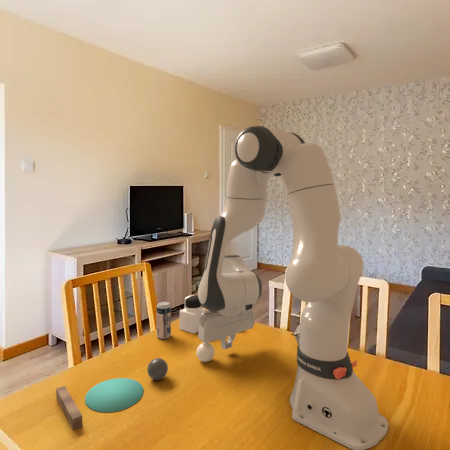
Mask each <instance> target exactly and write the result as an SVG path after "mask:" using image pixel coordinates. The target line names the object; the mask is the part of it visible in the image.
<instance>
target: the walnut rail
mask: <svg viewBox="0 0 450 450" xmlns="http://www.w3.org/2000/svg"><path fill="white" fill-rule="evenodd" d="M55 391H56V392H55V393H56V394H55V395H56V397H55V398H56V400H57V401H58V402H57V403H58V404H59V406H60V407H61V410H62V411H63V413H64V415H65V417H66V420H67V421H68V424H69V425H70V427H71V429H72V430H73V431H74V430H77V429H79V428H81V427H83V414H82V413H81V411H80V409H79V407H78V405H77V403H76V402H75V400H74V399H73V397H72V396H71V394H70V392H69V390H68V389H67V387H66V386H65V385H63V386H60V387H56V390H55Z"/></svg>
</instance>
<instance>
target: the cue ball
mask: <svg viewBox="0 0 450 450" xmlns="http://www.w3.org/2000/svg"><path fill="white" fill-rule="evenodd" d="M215 353H216V351H215V348H214V346H213V345H212V344H211V343H210V342H208V343H204V342H201V343H200V344H199V345H198V346H197V348H196V353H195V354H196V357H197V358H198V360H199V361H201V362H203V363H207V362H210V361H211V360H213V358H214V357H215Z"/></svg>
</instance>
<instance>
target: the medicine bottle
mask: <svg viewBox="0 0 450 450" xmlns="http://www.w3.org/2000/svg"><path fill="white" fill-rule="evenodd" d="M205 311H207V309H206V308H204V307H202V305H201V304H200V302H199V299H198V295H193V294H192V295H188V296H186V297H185V298H184V308H183V309H180V310H179V330H181V331H184V332H188V333H191V334H193V335H194V334H196V333H197V334H198V331H199V324H200V316H201V315H202V314H203V313H204V312H205Z"/></svg>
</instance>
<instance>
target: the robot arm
mask: <svg viewBox="0 0 450 450" xmlns="http://www.w3.org/2000/svg"><path fill="white" fill-rule="evenodd" d="M234 153H235V158H236V159H234V160H233V161H232V163H231V164H230V167H229V172H228V177H227V182H226V191H225V202H224V203H225V204H224V207H223V209H222V211H221V213H220V214H219V216H218V217H216V218H215V219H214V221H213V224H212V226H211V230H210V234H209V239H208V242H207V243H208V244H207V249H206V255H205V259H204V265H203V270H202V274H201V277H200V280H199V283H198V288H197V296H198V299H199V302H200V304H201V307H202V308H204V309H206V311H205V312H204V313H203V314H202V315H201V316H200V324H199V331H198V332H197V337H198V339H199V340H200V341H201V342H202V343H210V342H211V343H212V342H214V341H218V340H220V343H221V348H222V350H227V349H231V348H233V342H234V341H235V338H236V334H239V333H241V332H245V331H248V330H251V329H253V328H254V326H255V323H256V322H255V321H256V320H255V319H256V315H255V314H256V312H255V309H254V308H255V306H256V305H255V304H257V302H259V300H260V299H261V296H262V293H263V284H262V279H261V277H259V276H258V275H257V274H256V273H255V272H254V271H251V270H250V269H248V267H247V266H246V265H245V264H244V261H243V258H242V256H240V255H237V254H228V255H226V251H227V248H228V246H229V244H230V243H231V242H232V241H233V240H234V239H235V238H237V237H239V236H240V235H242V234H245V233H247V232H249V231H251V230H253V229H254V228H255V227H257V226H258V225H259V224H260V223H261V222H262V221H263V219H264V216H265V213H266V208H267V207H266V205H267V203H266V202H267V186H268V185H267V184H268V181H269V179H270V178H271V177H272V176H275V177H280V176H282V178H283V179H284V185H285V188H286V189H285V190H286V194H287V199H288V204H289V210H290V211H289V212H290V215H291V221H292V233H293V234H292V236H293V237H292V251H291V259H290V261H289V263H288V266H287V268H286V271H285V276H284V278H285V283H286V286H287V289H288V291H289V293H290V294H291V295H293V297H295V298H296V299H297V300H299V301H301V302H305V303H306V305H305V307H304V308H303V310H302V312H301V316H300V319H299V320H300V322H299V324H300V341H299V345H298V344H297V349H296V364H297V369H296V374H295V381H294V386H293V389H292V392H291V394H290V398H289V404H290V406H291V411H292V412H291V418H292V420H293V421H295V422H296V423H299V424H301V425H303V426H305V427H307V428H309V429H311V430H313V431H315V432H316V433H318V434H321V435H323V436H324V437H327V438H328V439H330V440H333V441H335V443H339V444H341V445H342V446H344V447H347V448H348V449H350V450H367V449H368V450H369V449H370V448H373V447H374V446H376V445H378V444H379V443H380V442H381V441H382V440H383V439H384V438H385V437H386V436H385V435H387V434H386V433H388V432H387V431H389V422H388V419H387V418H386V417H385V416H383V415H382V414H380V413H379V411H378V410H379V409H378V408H379V407H378V403H377V398H376V396H375V395H374V394H373V393H372V392H371V390H369V388H368V387H367V386H366V385H365V383H364V382H363V381H362V380H361V379H360V378H359V376H358V375H357V374H356V373H355V372H354V368H355V367H356V366H358V364H357V363H358V360H356V359H355V361H352V360H351V358H350V355H349V351H348V343H349V341H348V340H349V330H350V329H349V327H350V320H351V316H352V311H353V309H354V304H355V300H356V296H357V293H358V292H357V291H358V288H359V286H358V285H359V282H360V279H361V277H362V274H363V272H364V268H365V265H364V259H363V257H362V255H361V254H360V252H358V250H357V249H355V248H353V247H351V246H348V245H343V244H338V243H339V227H340V224H341V220H342V214H341V210H340V205H339V200H338V196H337V190H336V185H335V181H334V177H333V172H332V169H331V166H330V163H329V161H328V158H327V157H326V154H325V151H324V150H323V148H322V147H321V146H320V145H318V144H315V143H312V142H311V143H310V142H306V141H305V140H304V139H303V138H302V137H301V136H300V135H298V134H297V133H294V132H290V131H287V130H283V129H281V128H277V127H269V126H263V125H254V126H249V127H246V128H245V129H243V130H242V131H241V132H240V133H239V134H238V136H237V138H236V140H235V143H234ZM384 436H385V437H384ZM383 437H384V438H383ZM382 438H383V439H382ZM381 439H382V440H381ZM380 440H381V441H380ZM379 441H380V442H379Z"/></svg>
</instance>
